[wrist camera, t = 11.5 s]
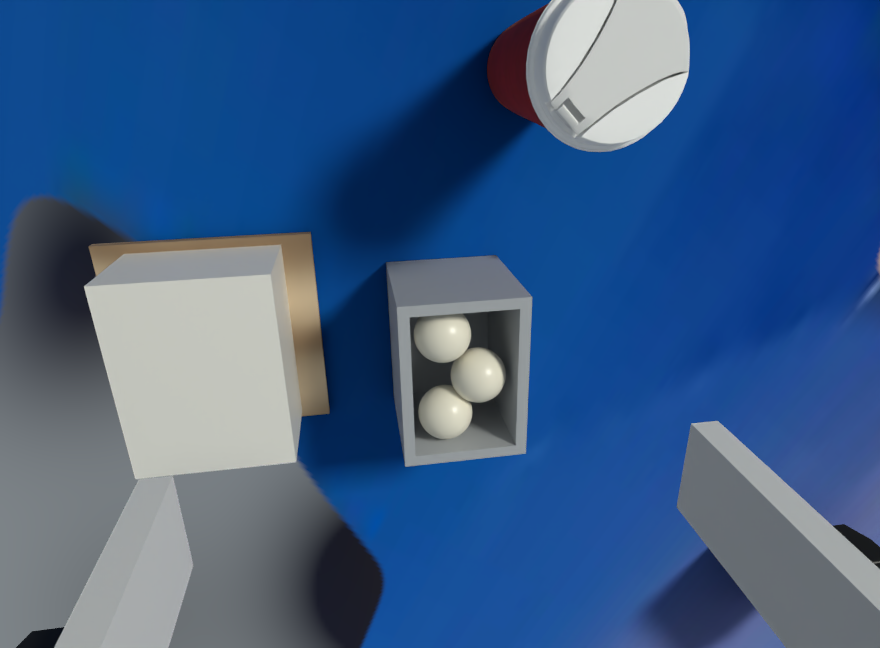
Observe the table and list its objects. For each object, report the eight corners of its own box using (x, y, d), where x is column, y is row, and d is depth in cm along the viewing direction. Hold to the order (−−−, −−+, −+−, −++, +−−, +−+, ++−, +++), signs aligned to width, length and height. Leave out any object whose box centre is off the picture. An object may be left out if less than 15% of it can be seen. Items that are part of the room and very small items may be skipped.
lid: (123, 253, 39) (84, 286, 33) (281, 244, 40) (270, 274, 34) (163, 423, 44) (135, 479, 38) (302, 410, 45) (296, 462, 39)
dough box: (385, 262, 42) (396, 307, 34) (495, 255, 43) (532, 297, 35) (393, 397, 47) (405, 466, 38) (493, 388, 48) (525, 453, 39)
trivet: (92, 244, 39) (88, 246, 38) (310, 231, 41) (310, 234, 40) (138, 427, 44) (136, 432, 44) (329, 409, 46) (329, 413, 46)
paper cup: (523, 154, 41) (606, 190, 28) (445, 68, 38) (498, 63, 25) (608, 67, 40) (736, 62, 27) (534, -29, 37) (638, -86, 24)
